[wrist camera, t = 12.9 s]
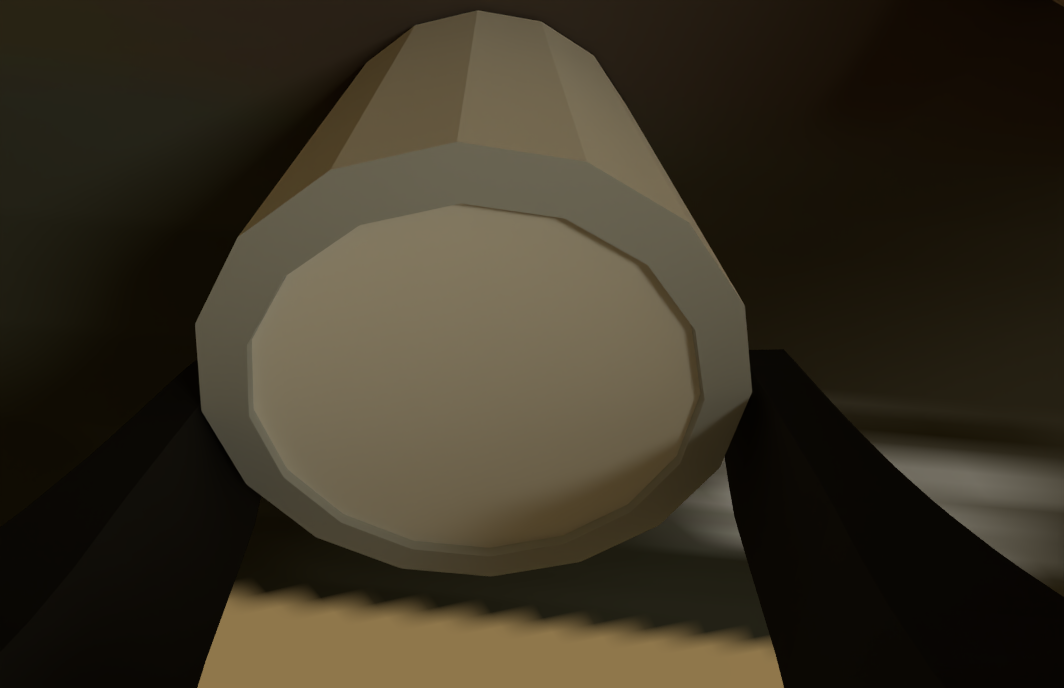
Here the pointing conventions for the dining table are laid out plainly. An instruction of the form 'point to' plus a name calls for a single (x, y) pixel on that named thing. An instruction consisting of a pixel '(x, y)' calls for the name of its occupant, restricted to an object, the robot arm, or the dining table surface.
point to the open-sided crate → (1059, 2)
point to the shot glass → (475, 315)
